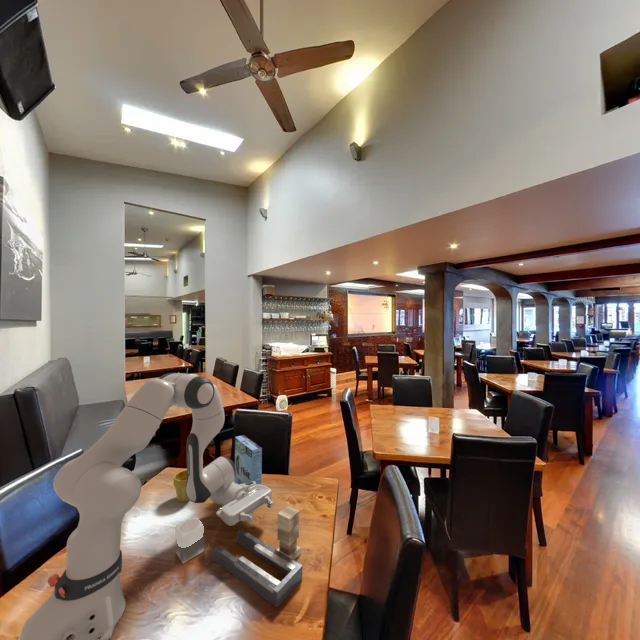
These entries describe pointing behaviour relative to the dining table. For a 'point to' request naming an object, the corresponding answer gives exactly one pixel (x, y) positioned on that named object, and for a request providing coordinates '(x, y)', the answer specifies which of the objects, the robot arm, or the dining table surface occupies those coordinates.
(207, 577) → the dining table surface
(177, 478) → the plant pot
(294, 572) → the grey slotted frame
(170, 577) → the dining table surface
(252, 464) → the gum box
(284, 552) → the birch keyhole peg
